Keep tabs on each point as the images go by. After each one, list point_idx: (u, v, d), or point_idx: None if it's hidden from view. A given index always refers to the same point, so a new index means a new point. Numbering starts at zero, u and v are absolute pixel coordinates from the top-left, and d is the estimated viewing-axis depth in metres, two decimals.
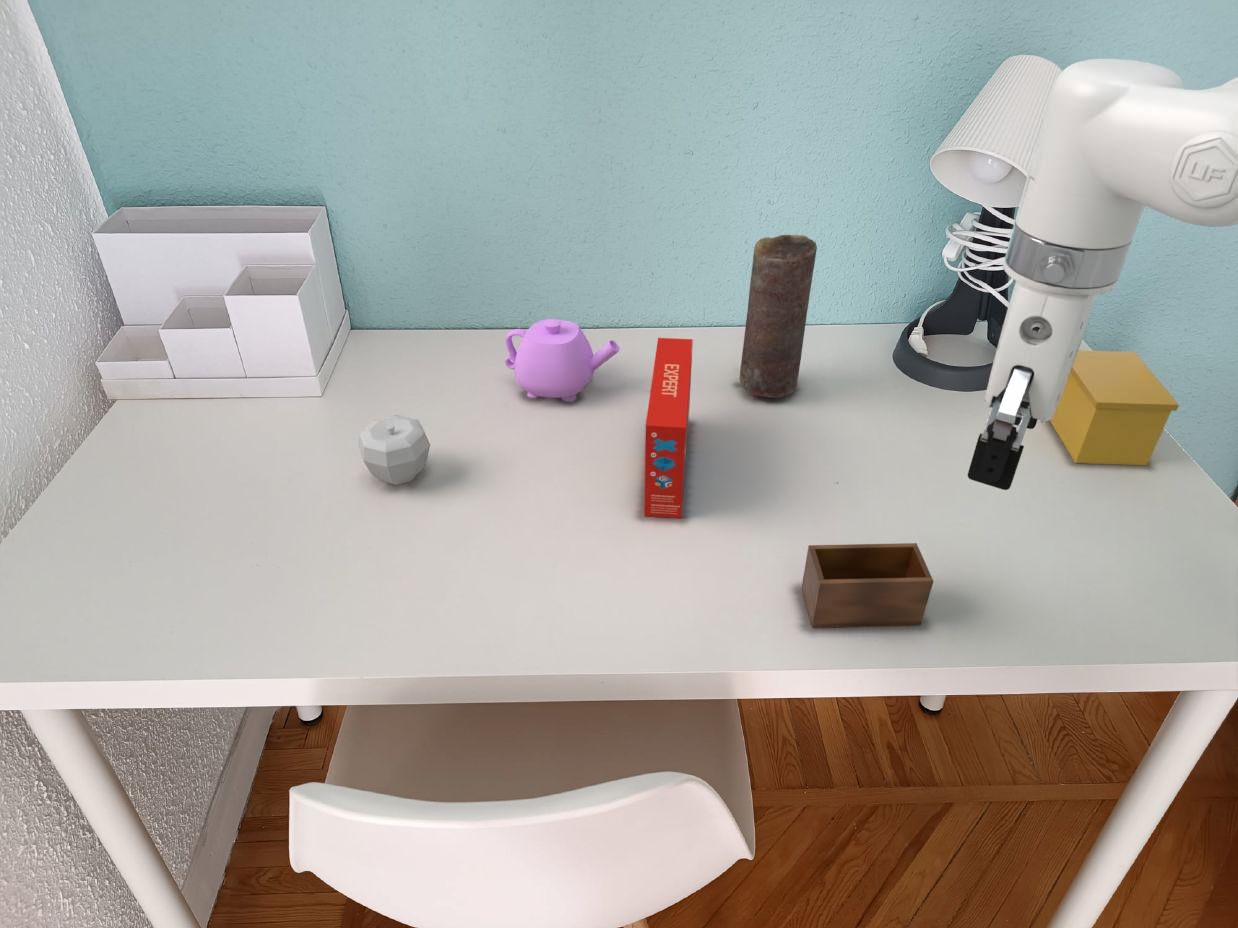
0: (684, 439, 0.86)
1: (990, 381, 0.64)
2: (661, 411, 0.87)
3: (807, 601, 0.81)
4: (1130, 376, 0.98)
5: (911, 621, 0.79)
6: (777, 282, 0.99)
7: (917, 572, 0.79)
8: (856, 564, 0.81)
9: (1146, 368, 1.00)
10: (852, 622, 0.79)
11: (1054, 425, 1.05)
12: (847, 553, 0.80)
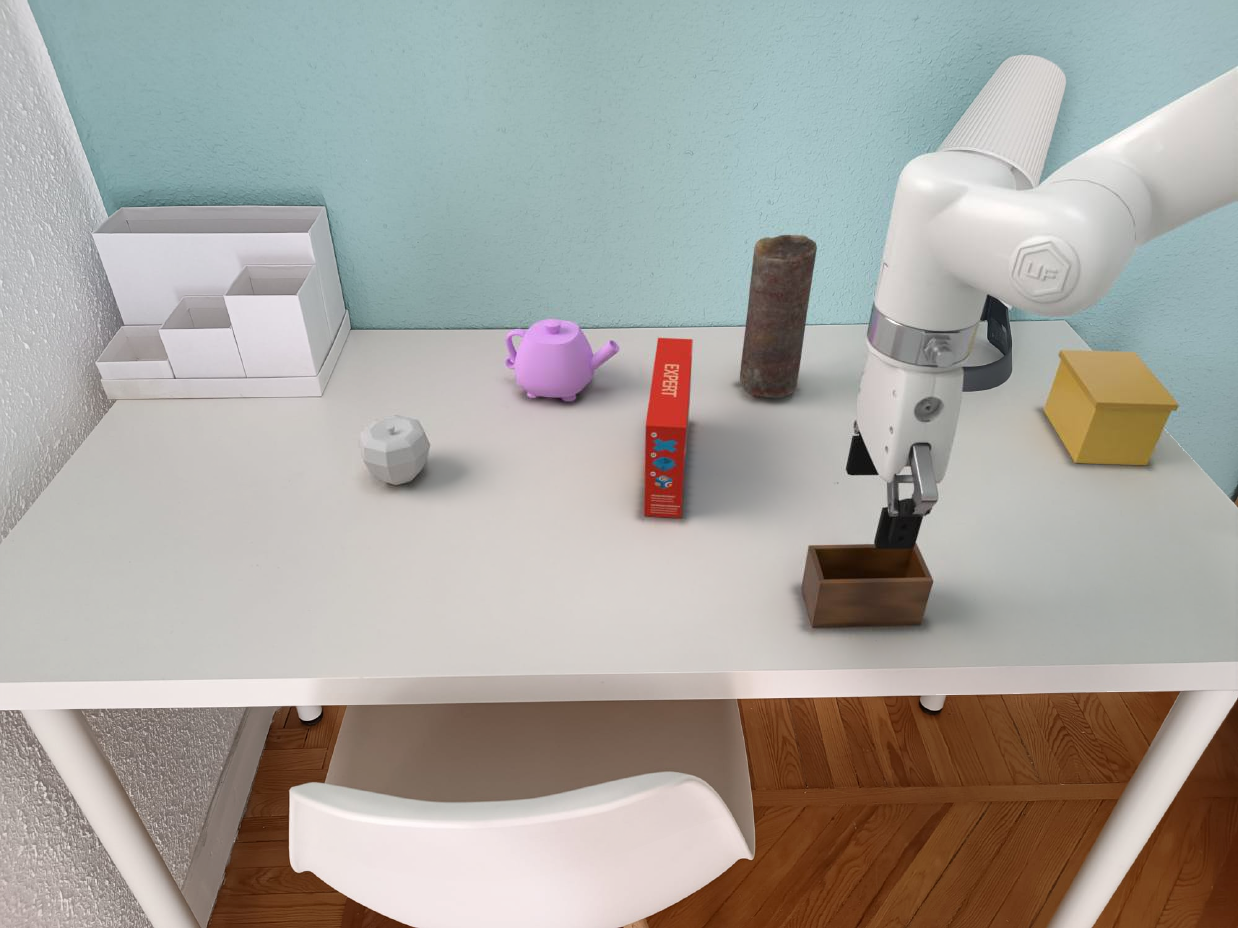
0: (684, 439, 0.86)
1: (889, 461, 0.66)
2: (661, 411, 0.87)
3: (807, 601, 0.81)
4: (1130, 376, 0.98)
5: (911, 621, 0.79)
6: (777, 282, 0.99)
7: (917, 572, 0.79)
8: (856, 564, 0.81)
9: (1146, 368, 1.00)
10: (852, 622, 0.79)
11: (1054, 425, 1.05)
12: (847, 553, 0.80)
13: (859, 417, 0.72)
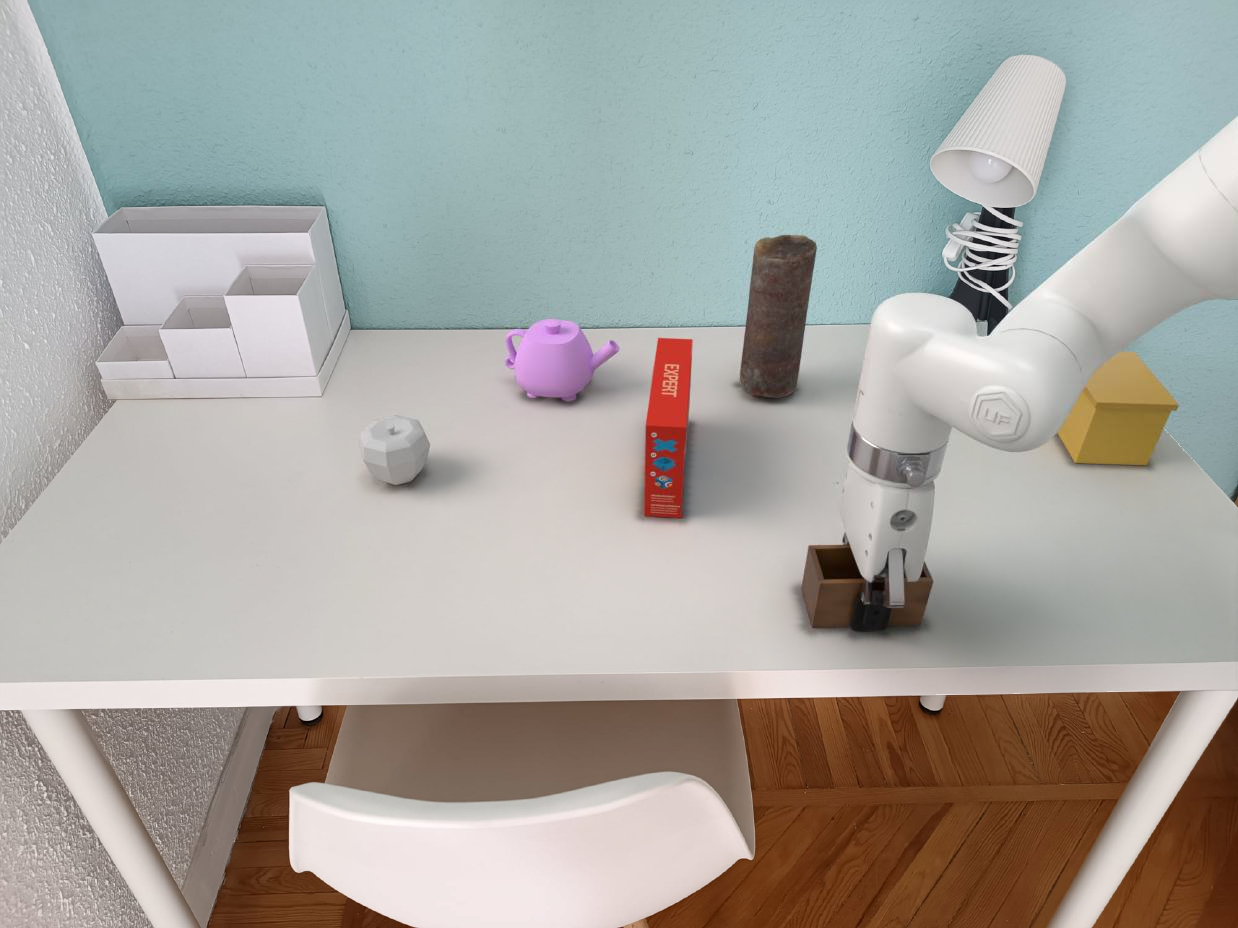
0: (684, 439, 0.86)
1: (869, 564, 0.72)
2: (661, 411, 0.87)
3: (807, 601, 0.81)
4: (1130, 376, 0.98)
5: (911, 621, 0.79)
6: (777, 282, 0.99)
7: None
8: (856, 564, 0.81)
9: (1146, 368, 1.00)
10: None
11: None
12: (847, 553, 0.80)
13: (843, 515, 0.79)
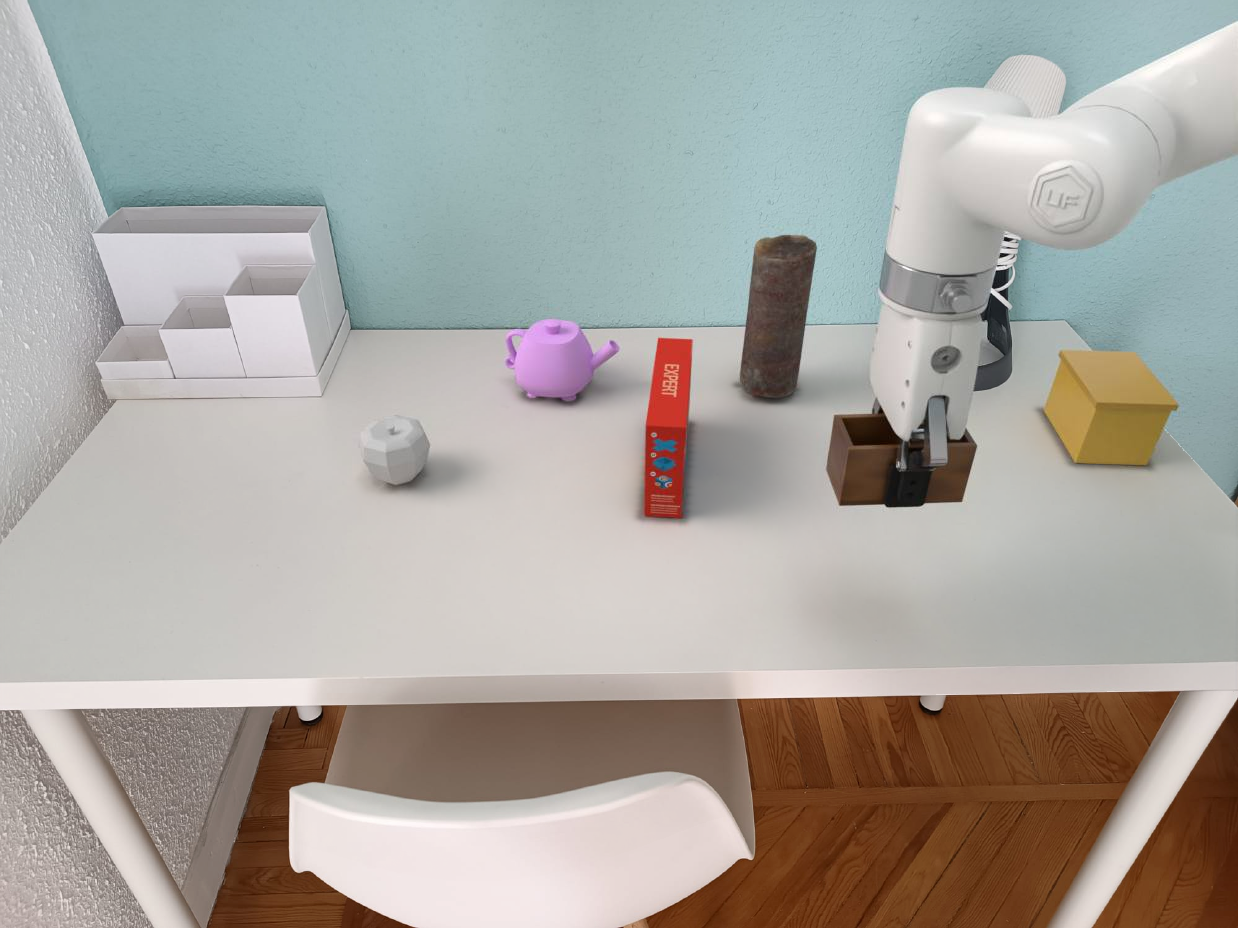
0: (684, 439, 0.86)
1: (906, 417, 0.63)
2: (661, 411, 0.87)
3: (833, 479, 0.72)
4: (1130, 376, 0.98)
5: (951, 497, 0.70)
6: (777, 282, 0.99)
7: (957, 441, 0.70)
8: (888, 437, 0.72)
9: (1146, 368, 1.00)
10: None
11: (1054, 425, 1.05)
12: (877, 423, 0.71)
13: (873, 377, 0.70)
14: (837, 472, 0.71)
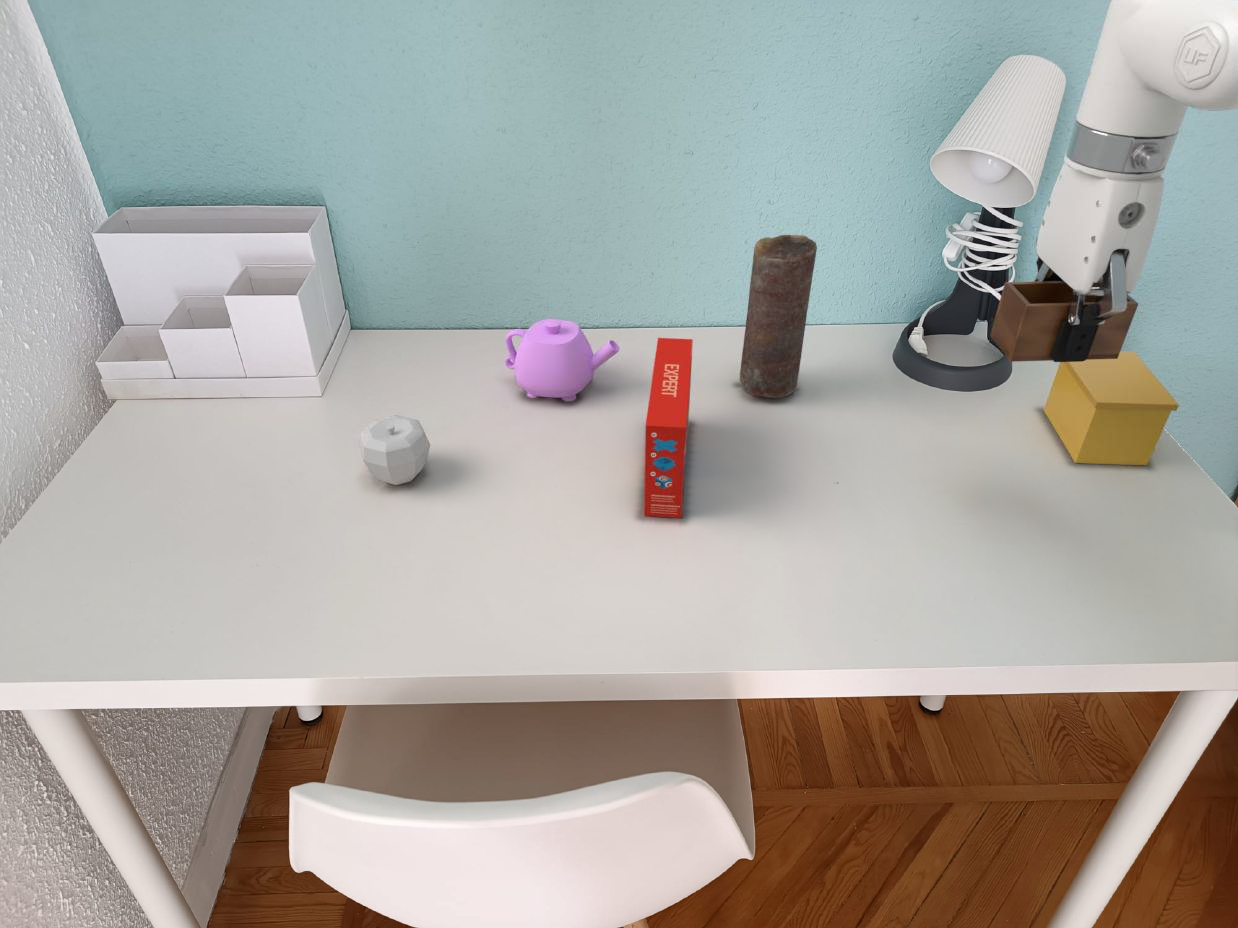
0: (684, 439, 0.86)
1: (1089, 270, 0.72)
2: (661, 411, 0.87)
3: (1002, 340, 0.81)
4: (1130, 376, 0.98)
5: (1109, 354, 0.80)
6: (777, 282, 0.99)
7: None
8: None
9: (1146, 368, 1.00)
10: None
11: (1054, 425, 1.05)
12: (1043, 290, 0.81)
13: (1043, 247, 0.79)
14: (1008, 332, 0.80)
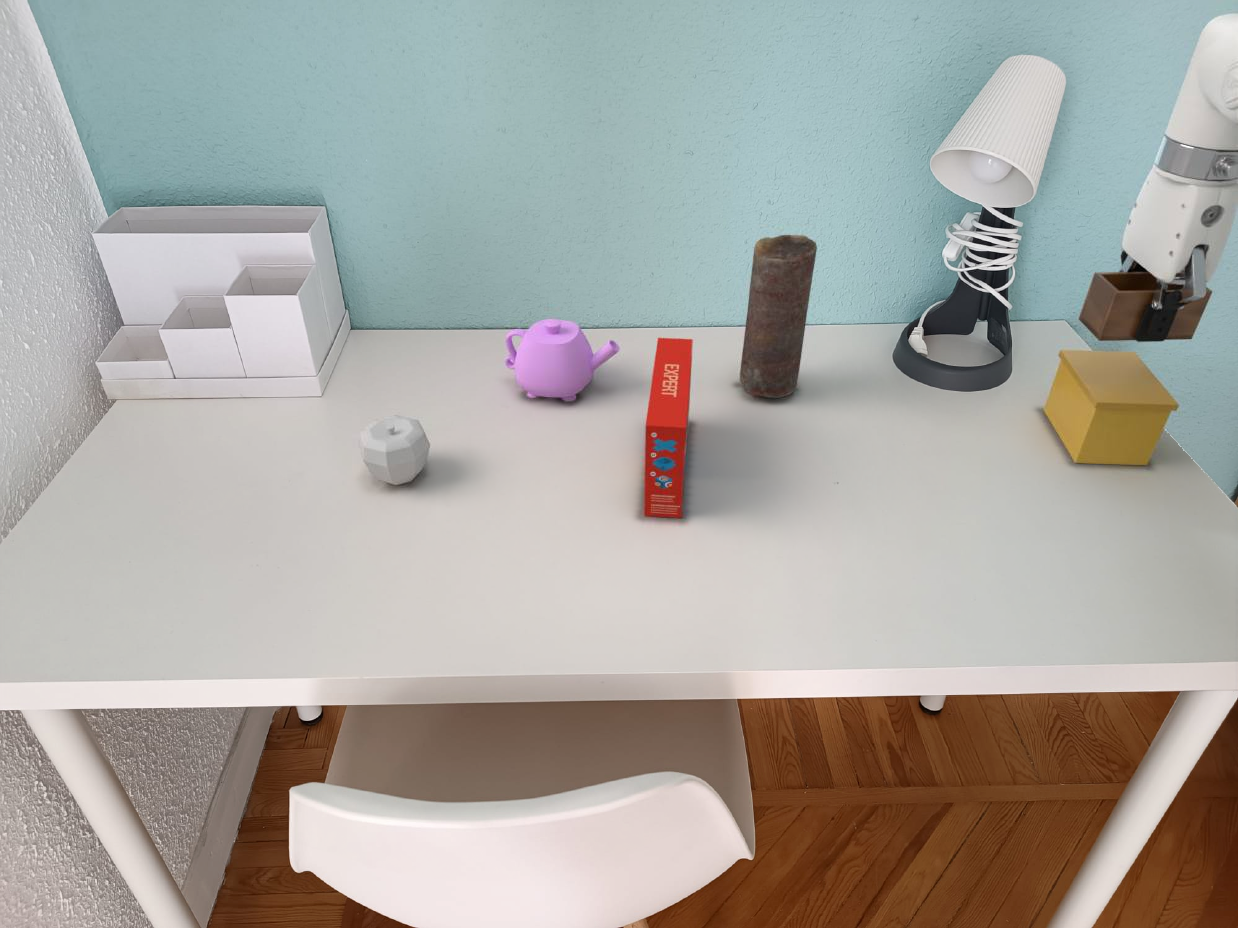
0: (684, 439, 0.86)
1: (1174, 262, 0.85)
2: (661, 411, 0.87)
3: (1091, 323, 0.94)
4: (1130, 376, 0.98)
5: (1184, 335, 0.93)
6: (777, 282, 0.99)
7: None
8: None
9: (1146, 368, 1.00)
10: None
11: (1054, 425, 1.05)
12: (1127, 280, 0.94)
13: (1129, 243, 0.92)
14: (1097, 315, 0.93)
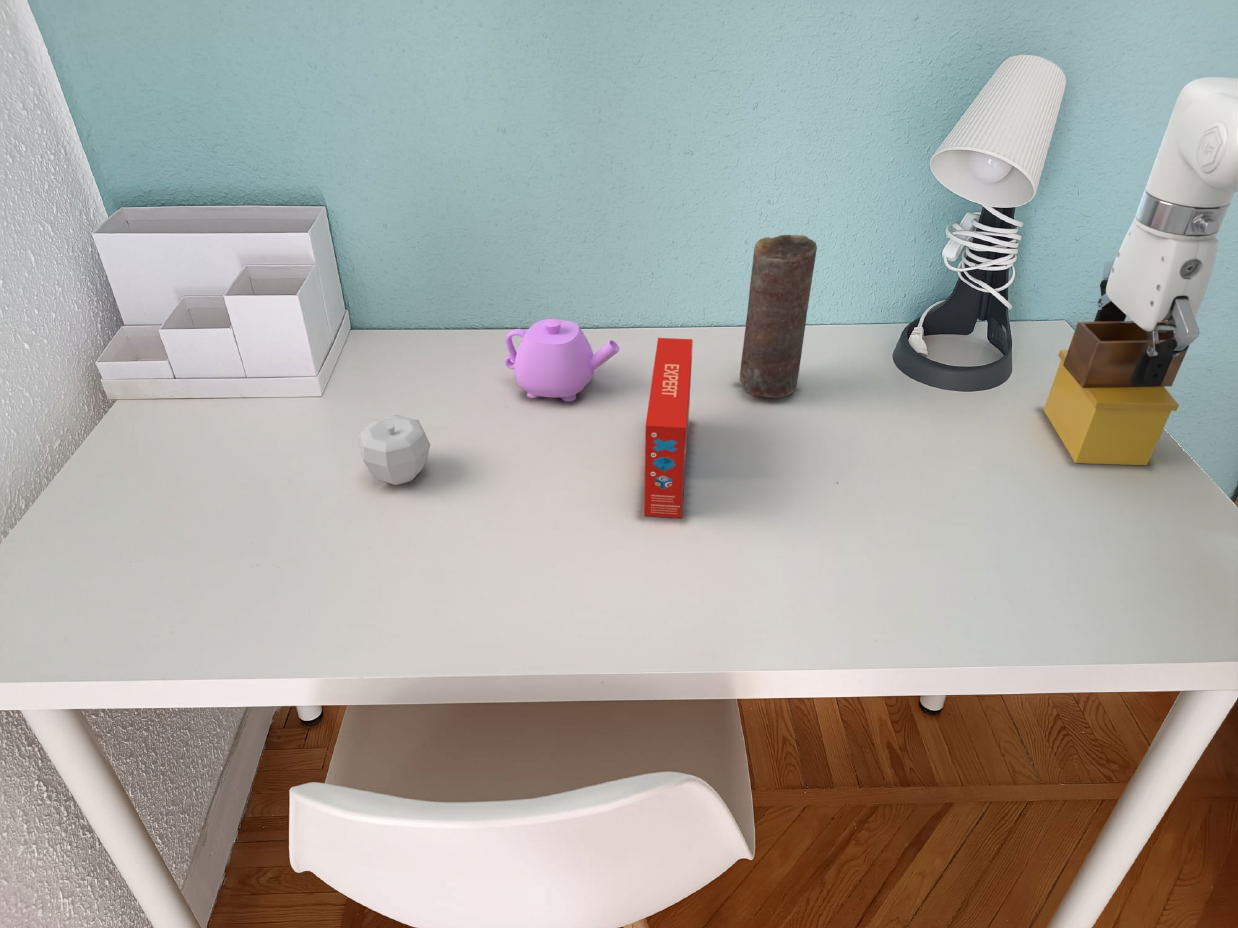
0: (684, 439, 0.86)
1: (1154, 312, 0.89)
2: (661, 411, 0.87)
3: (1074, 370, 0.98)
4: None
5: (1164, 382, 0.96)
6: (777, 282, 0.99)
7: None
8: (1114, 339, 0.98)
9: None
10: (1116, 383, 0.96)
11: (1054, 425, 1.05)
12: (1109, 329, 0.97)
13: (1112, 290, 0.95)
14: (1081, 363, 0.97)
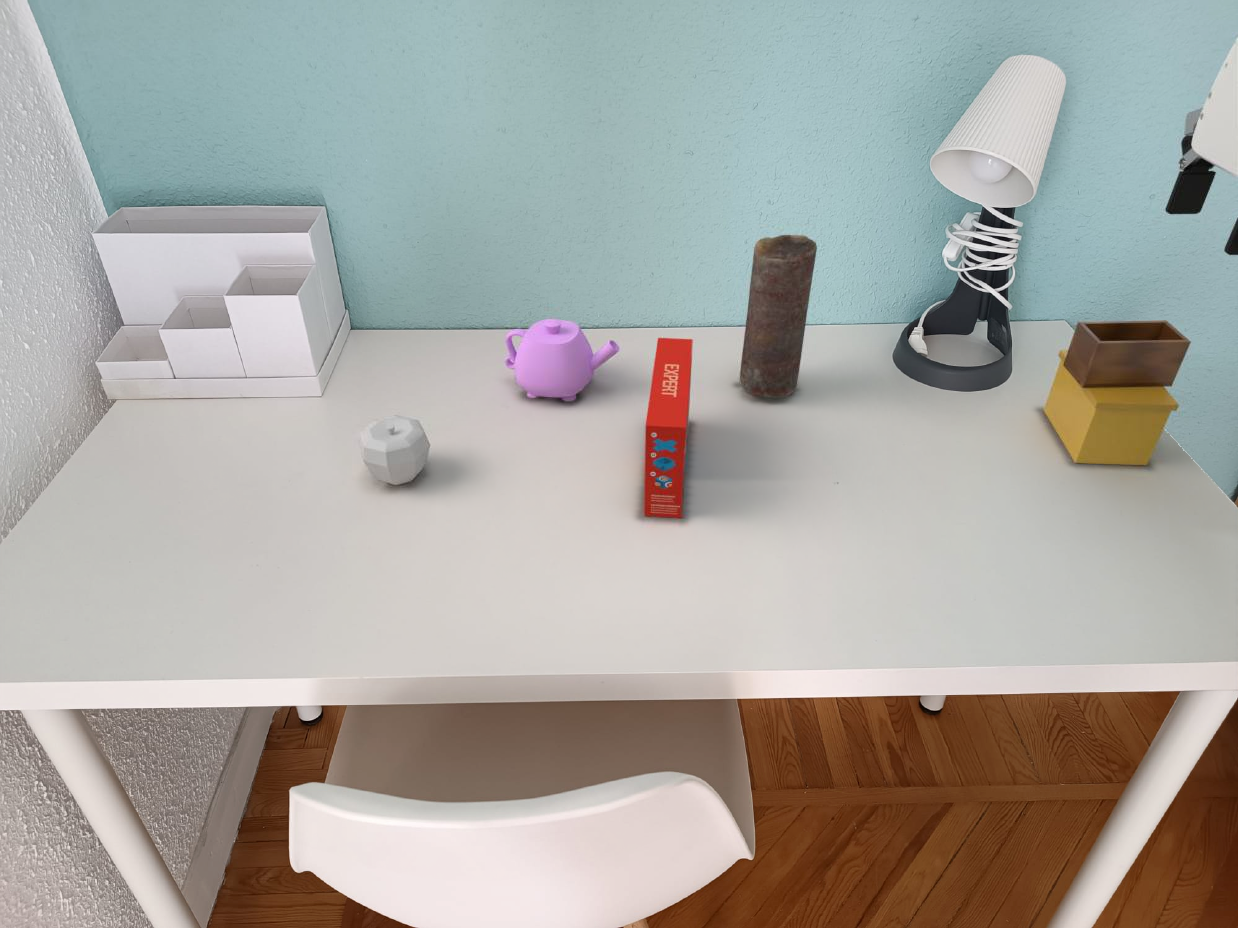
0: (684, 439, 0.86)
1: None
2: (661, 411, 0.87)
3: (1074, 370, 0.98)
4: None
5: (1164, 382, 0.96)
6: (777, 282, 0.99)
7: None
8: (1114, 339, 0.98)
9: None
10: (1116, 383, 0.96)
11: (1054, 425, 1.05)
12: (1109, 329, 0.97)
13: (1201, 141, 0.78)
14: (1081, 363, 0.97)
